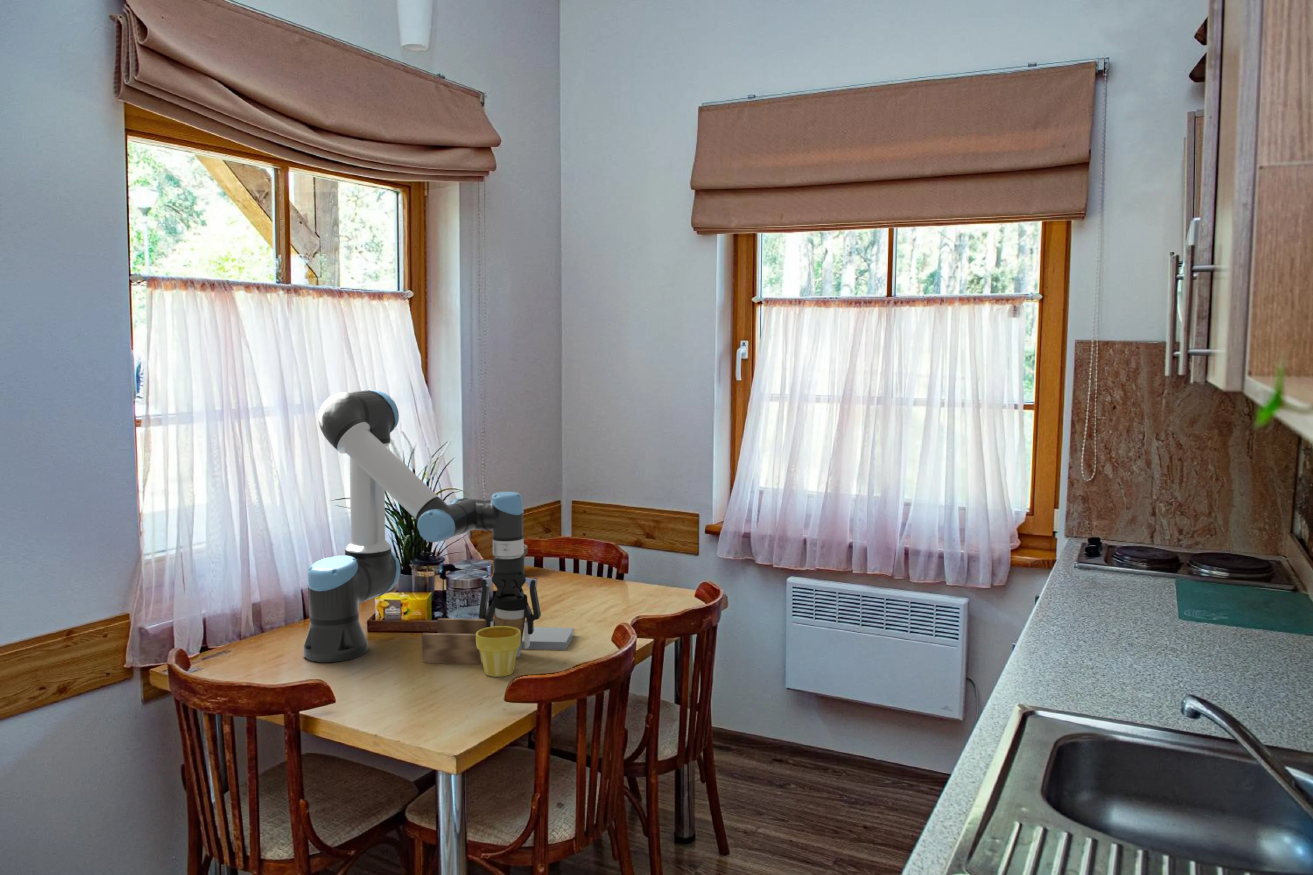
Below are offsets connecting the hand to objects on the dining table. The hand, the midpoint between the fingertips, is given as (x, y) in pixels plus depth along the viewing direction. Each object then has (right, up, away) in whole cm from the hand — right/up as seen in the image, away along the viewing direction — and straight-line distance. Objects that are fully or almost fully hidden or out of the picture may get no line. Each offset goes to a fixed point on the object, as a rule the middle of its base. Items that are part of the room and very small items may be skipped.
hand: (510, 646), depth 236 cm
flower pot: (-12, +5, +79) cm, 80 cm away
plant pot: (-1, -4, -12) cm, 12 cm away
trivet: (+8, -1, +11) cm, 13 cm away
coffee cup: (-1, -2, 0) cm, 2 cm away
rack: (-13, -2, +1) cm, 13 cm away
